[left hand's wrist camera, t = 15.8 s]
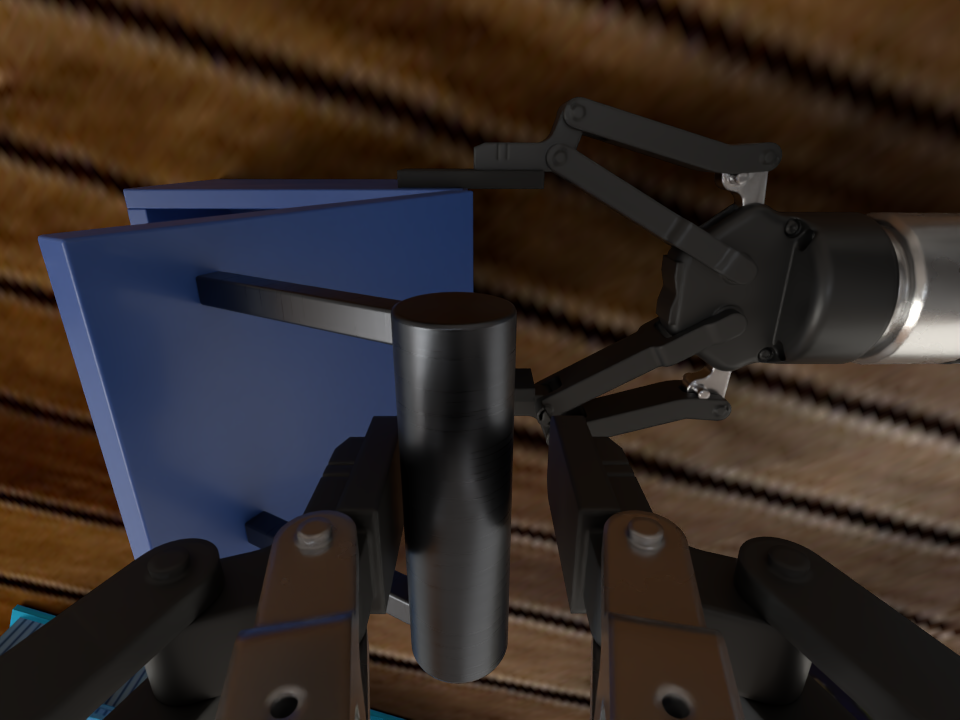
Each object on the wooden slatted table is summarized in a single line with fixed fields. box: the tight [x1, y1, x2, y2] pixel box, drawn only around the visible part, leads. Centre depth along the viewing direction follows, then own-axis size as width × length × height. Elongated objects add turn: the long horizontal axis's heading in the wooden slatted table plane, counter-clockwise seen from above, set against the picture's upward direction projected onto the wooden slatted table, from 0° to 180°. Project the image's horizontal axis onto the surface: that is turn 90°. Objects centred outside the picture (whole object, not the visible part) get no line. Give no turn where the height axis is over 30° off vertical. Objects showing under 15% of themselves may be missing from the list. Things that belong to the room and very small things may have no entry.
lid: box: [38, 190, 517, 684], centre depth 16 cm, size 15×10×9 cm
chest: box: [123, 179, 468, 225], centre depth 29 cm, size 15×10×9 cm
